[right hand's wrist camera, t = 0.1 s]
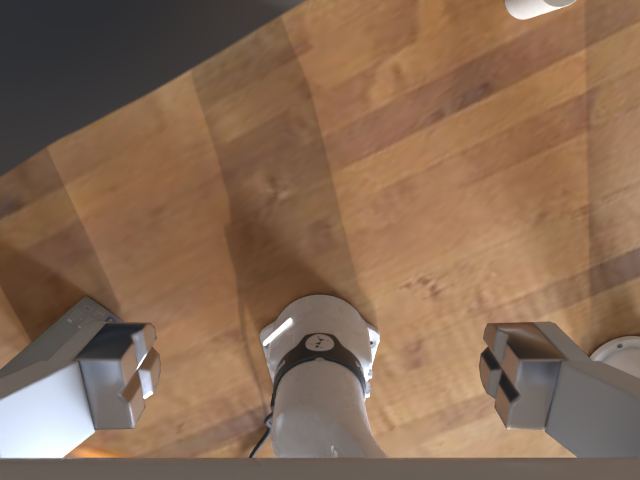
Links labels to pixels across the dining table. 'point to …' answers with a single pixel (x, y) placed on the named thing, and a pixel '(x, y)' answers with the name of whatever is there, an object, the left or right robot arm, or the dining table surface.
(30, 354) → the hard drive box
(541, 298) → the dining table surface
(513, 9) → the canister
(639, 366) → the left robot arm
